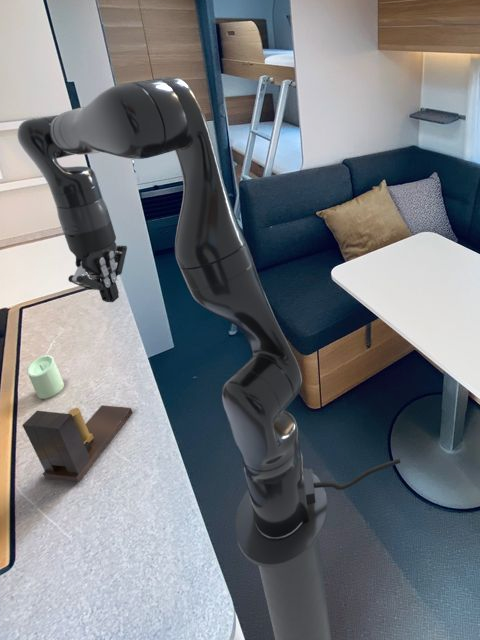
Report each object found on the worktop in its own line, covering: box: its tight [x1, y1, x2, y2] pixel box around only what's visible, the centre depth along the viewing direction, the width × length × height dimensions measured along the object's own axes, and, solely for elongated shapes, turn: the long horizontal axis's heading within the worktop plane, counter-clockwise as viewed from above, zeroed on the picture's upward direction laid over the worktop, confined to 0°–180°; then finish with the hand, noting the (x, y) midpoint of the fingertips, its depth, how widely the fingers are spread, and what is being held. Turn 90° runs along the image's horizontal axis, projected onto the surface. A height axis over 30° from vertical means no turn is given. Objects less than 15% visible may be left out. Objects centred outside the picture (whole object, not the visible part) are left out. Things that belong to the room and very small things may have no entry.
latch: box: [22, 404, 133, 484], centre depth 80 cm, size 15×7×14 cm, turn 173°
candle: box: [26, 354, 65, 400], centre depth 94 cm, size 5×5×8 cm
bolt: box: [67, 407, 94, 444], centre depth 78 cm, size 6×2×8 cm, turn 173°
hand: (111, 300), depth 83 cm, fingers closed
